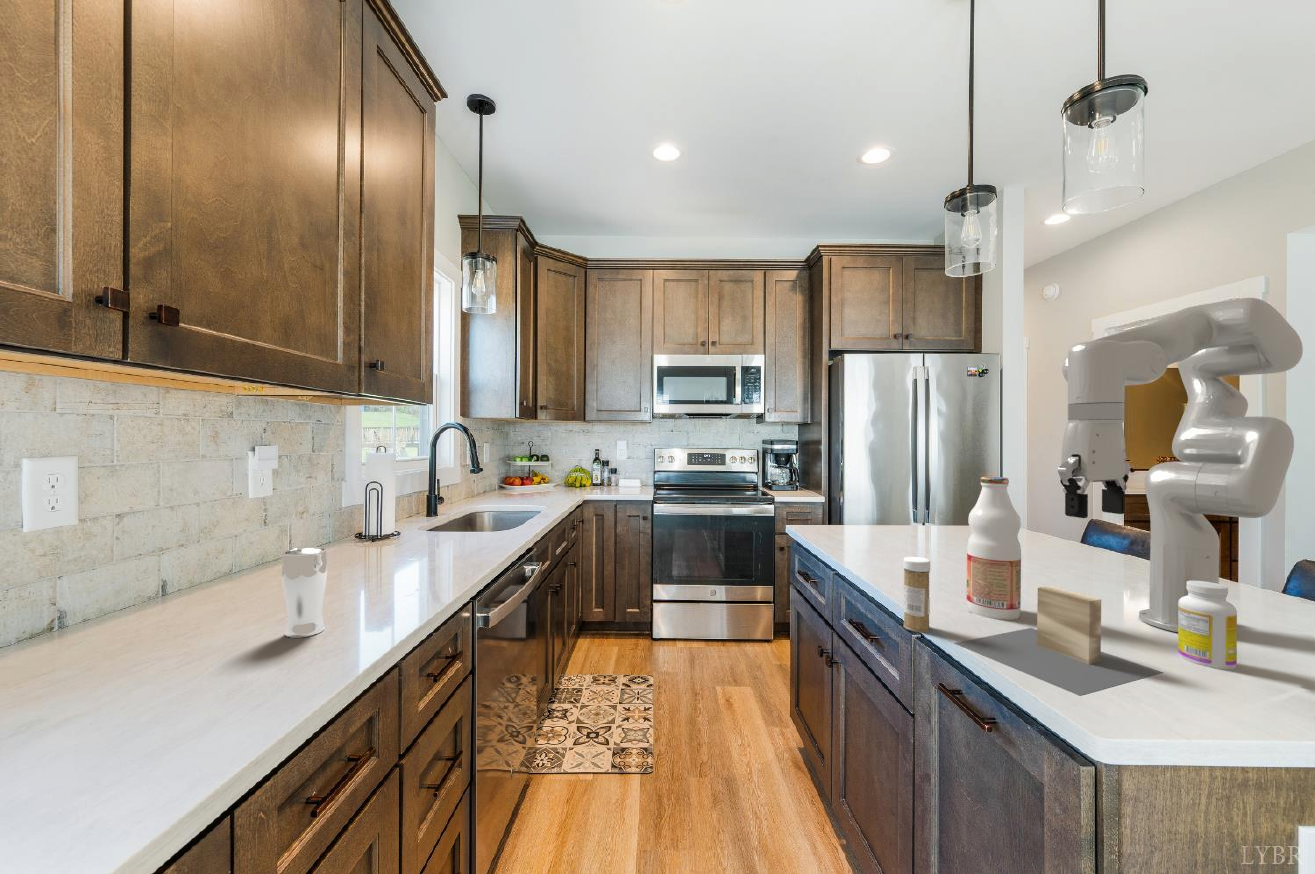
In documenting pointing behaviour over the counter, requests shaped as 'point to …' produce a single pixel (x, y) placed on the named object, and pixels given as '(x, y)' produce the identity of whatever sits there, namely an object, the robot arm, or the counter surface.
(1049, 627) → the birch tile
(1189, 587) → the supplement bottle
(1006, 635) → the rubber mat
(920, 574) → the sprinkles bottle
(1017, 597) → the fruit juice
